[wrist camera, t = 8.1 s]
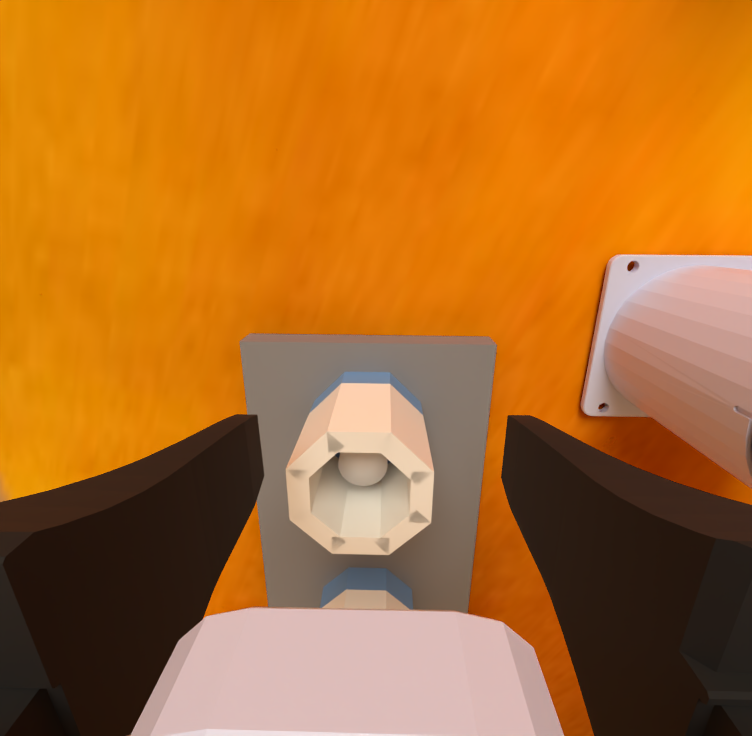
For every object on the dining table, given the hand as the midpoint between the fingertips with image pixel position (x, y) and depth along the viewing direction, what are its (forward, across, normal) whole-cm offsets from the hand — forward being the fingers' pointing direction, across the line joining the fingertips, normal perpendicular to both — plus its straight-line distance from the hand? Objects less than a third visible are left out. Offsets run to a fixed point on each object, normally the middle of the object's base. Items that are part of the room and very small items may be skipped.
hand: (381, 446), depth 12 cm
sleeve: (+8, +1, +3) cm, 9 cm away
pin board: (+9, +1, +9) cm, 13 cm away
